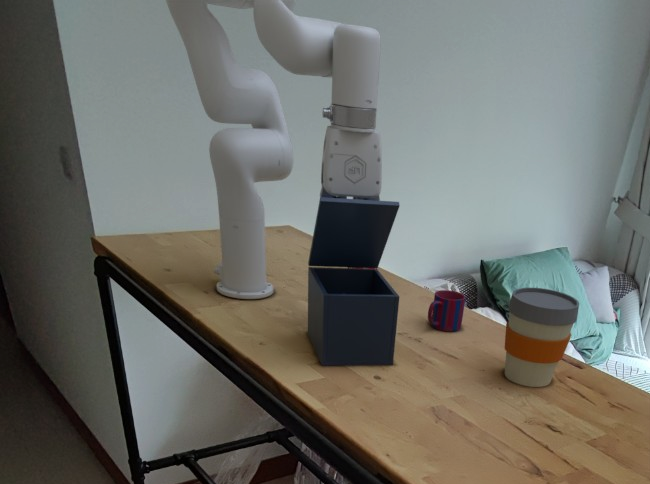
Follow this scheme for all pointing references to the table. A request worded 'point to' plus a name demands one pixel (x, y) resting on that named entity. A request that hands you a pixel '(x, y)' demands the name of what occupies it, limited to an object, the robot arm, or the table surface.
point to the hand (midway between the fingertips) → (348, 236)
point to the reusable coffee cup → (537, 334)
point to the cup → (447, 310)
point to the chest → (351, 316)
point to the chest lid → (351, 232)
